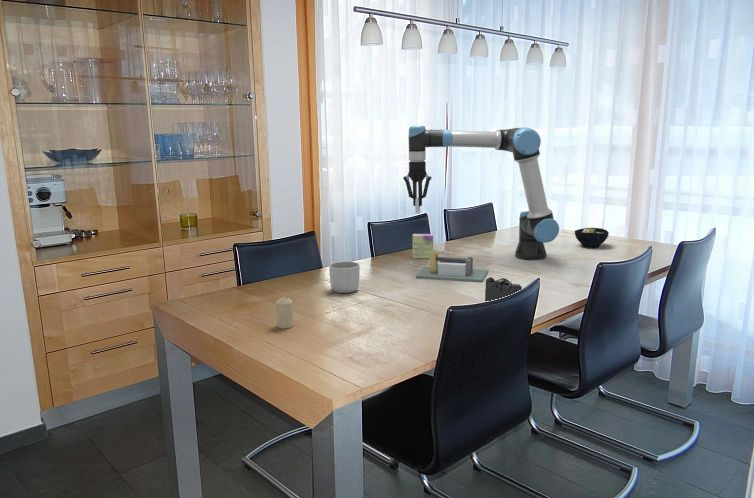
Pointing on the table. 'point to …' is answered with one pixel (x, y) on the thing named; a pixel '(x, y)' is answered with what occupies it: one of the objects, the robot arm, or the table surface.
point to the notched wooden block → (434, 260)
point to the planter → (344, 276)
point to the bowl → (591, 237)
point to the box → (422, 245)
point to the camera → (499, 288)
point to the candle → (284, 313)
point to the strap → (452, 259)
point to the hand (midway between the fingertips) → (417, 213)
